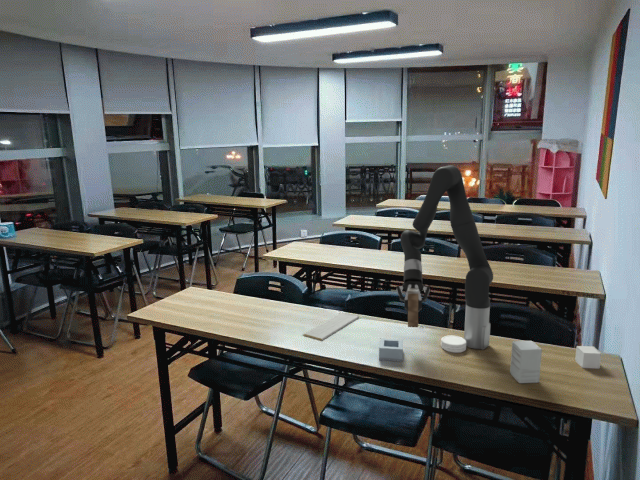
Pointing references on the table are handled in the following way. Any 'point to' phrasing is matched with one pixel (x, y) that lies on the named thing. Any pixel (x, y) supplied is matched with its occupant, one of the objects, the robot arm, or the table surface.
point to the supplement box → (525, 361)
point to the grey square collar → (391, 349)
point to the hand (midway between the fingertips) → (413, 310)
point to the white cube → (588, 357)
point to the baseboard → (331, 326)
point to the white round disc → (453, 343)
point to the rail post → (413, 307)
